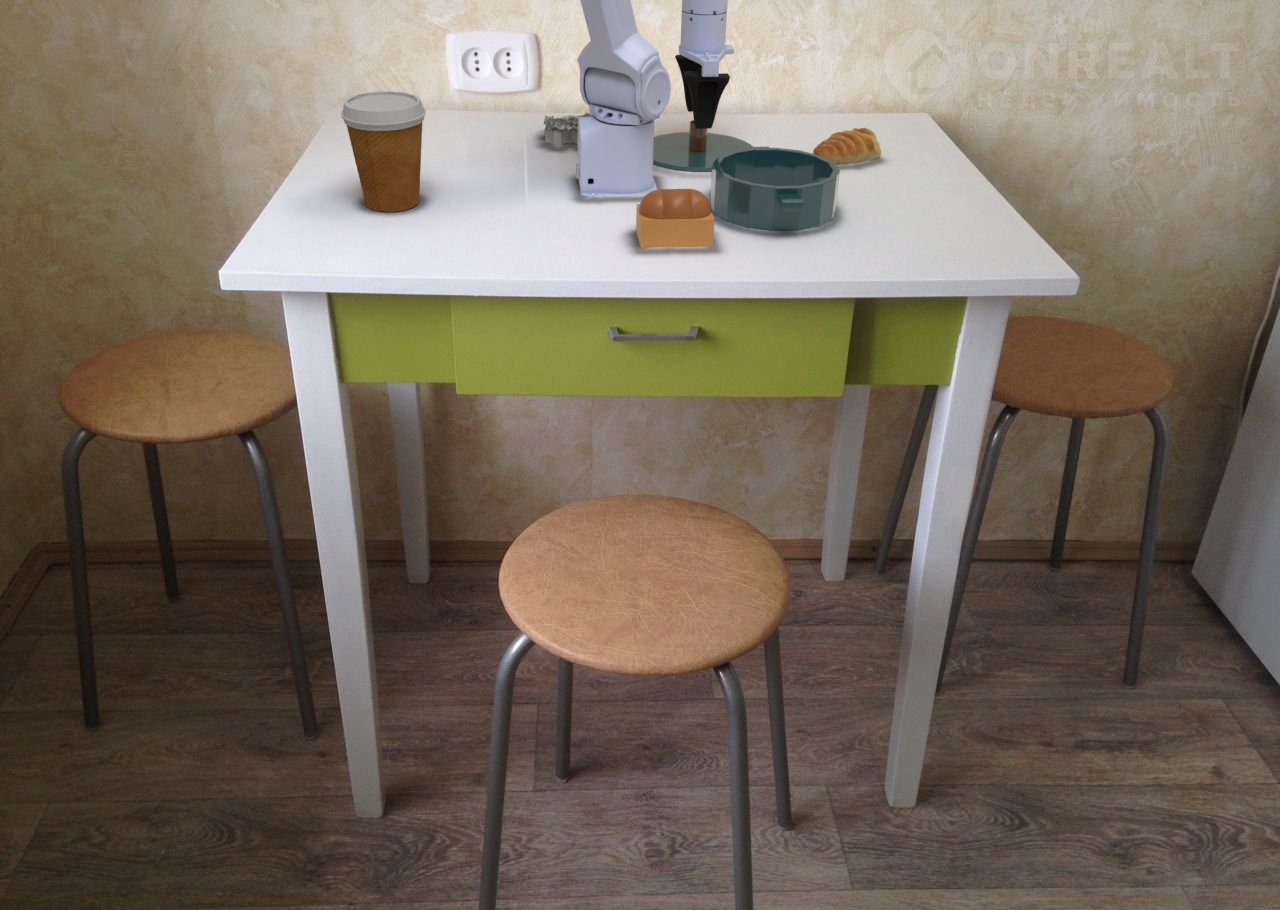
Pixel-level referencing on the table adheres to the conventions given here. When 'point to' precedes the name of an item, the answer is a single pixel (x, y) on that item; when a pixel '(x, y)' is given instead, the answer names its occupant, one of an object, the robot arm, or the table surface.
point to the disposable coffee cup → (386, 147)
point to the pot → (774, 188)
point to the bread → (674, 219)
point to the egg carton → (562, 129)
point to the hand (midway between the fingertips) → (699, 119)
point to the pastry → (850, 147)
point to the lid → (693, 149)
